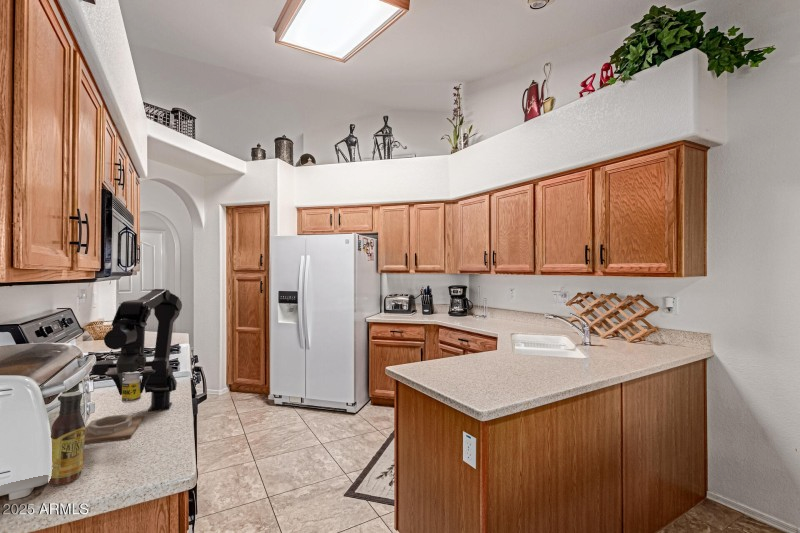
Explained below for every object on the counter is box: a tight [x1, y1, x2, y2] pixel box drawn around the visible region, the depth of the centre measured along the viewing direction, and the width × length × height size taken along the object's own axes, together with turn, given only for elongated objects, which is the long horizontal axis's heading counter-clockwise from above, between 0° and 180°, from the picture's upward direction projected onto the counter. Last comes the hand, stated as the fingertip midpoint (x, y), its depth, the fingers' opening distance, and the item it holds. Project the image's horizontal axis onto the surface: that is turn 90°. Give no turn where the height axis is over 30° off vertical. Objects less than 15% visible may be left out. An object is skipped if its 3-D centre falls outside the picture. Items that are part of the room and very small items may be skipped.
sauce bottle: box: [47, 391, 86, 486], centre depth 89 cm, size 7×6×20 cm
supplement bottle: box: [121, 371, 142, 404], centre depth 116 cm, size 5×5×8 cm
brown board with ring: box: [84, 414, 145, 445], centre depth 116 cm, size 16×14×3 cm
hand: (131, 393), depth 116 cm, fingers closed on supplement bottle, 5 cm apart
